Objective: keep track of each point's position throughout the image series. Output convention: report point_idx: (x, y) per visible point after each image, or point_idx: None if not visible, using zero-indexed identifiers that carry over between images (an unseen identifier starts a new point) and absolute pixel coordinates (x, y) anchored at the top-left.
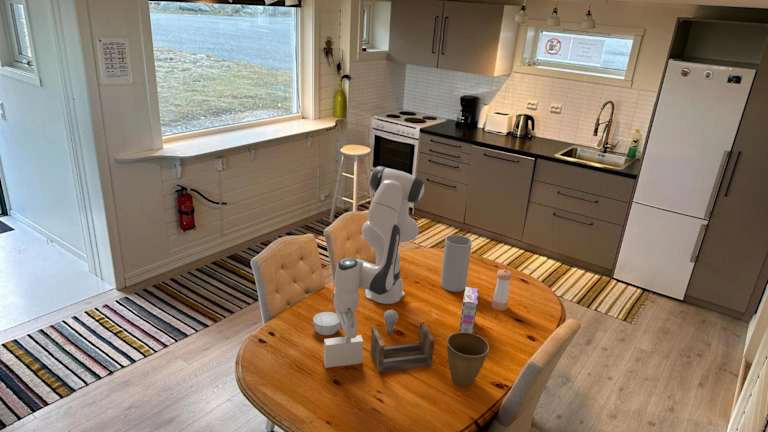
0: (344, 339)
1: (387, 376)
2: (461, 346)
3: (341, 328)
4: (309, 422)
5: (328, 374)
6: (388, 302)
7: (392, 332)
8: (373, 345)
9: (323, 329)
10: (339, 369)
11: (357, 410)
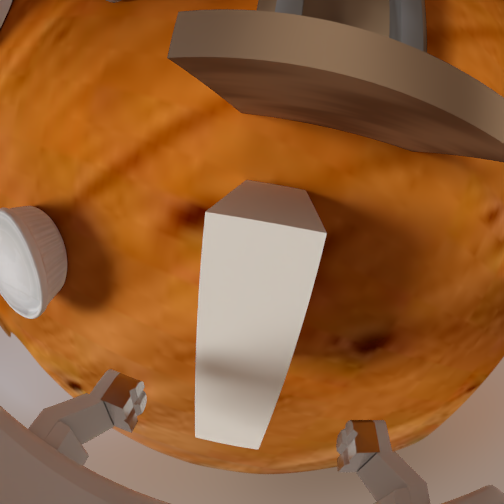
0: (232, 369)
1: None
2: None
3: (142, 405)
4: (443, 417)
5: (315, 355)
6: (4, 13)
7: None
8: (300, 105)
9: (52, 292)
10: None
11: (499, 319)
